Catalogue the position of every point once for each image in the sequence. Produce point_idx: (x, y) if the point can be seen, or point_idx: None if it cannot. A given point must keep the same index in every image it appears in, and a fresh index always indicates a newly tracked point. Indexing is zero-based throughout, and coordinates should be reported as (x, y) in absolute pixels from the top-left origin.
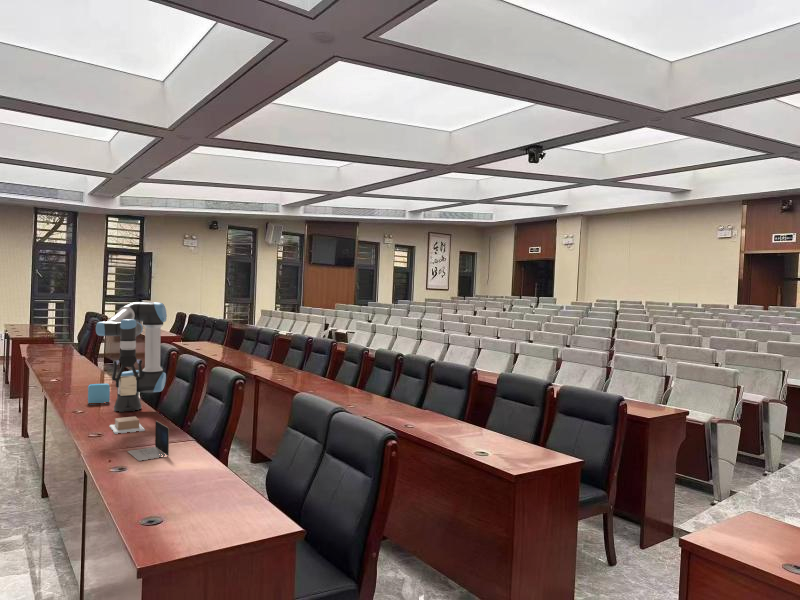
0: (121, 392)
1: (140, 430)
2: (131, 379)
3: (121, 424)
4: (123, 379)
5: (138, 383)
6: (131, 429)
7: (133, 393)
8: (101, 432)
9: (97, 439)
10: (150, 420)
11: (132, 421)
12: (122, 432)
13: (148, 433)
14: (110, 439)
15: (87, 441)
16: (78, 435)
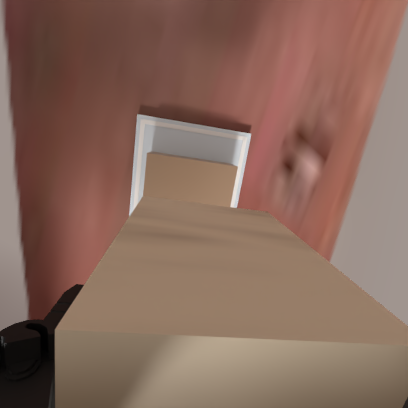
0: (275, 220)
1: (155, 117)
2: (187, 300)
3: (222, 163)
4: (359, 315)
5: (56, 309)
6: (186, 139)
7: (162, 201)
8: (274, 190)
9: (325, 87)
10: (71, 281)
11: (177, 157)
12: (223, 129)
13: (138, 55)
14: (292, 52)
15: (360, 79)
16: (343, 191)
